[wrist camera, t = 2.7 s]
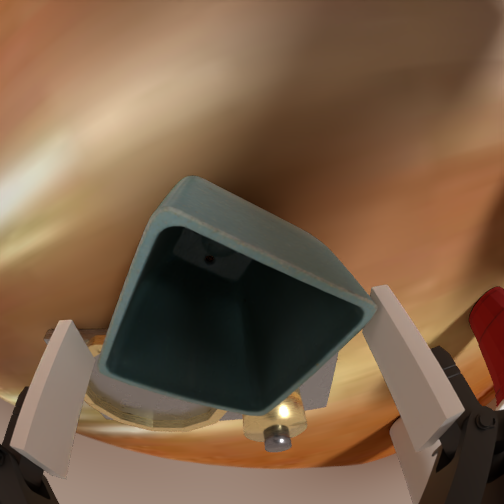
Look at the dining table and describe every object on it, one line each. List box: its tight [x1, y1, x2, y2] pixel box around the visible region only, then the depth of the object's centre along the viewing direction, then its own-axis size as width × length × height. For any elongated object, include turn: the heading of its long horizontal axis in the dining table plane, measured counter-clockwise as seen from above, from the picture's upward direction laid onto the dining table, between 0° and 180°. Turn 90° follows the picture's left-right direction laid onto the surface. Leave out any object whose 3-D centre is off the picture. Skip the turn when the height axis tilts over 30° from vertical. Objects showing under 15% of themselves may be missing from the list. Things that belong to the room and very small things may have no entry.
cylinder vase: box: [390, 417, 441, 504], centre depth 28 cm, size 12×12×25 cm
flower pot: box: [97, 176, 377, 416], centre depth 15 cm, size 9×9×9 cm
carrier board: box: [44, 329, 339, 452], centre depth 22 cm, size 15×25×8 cm, turn 94°
